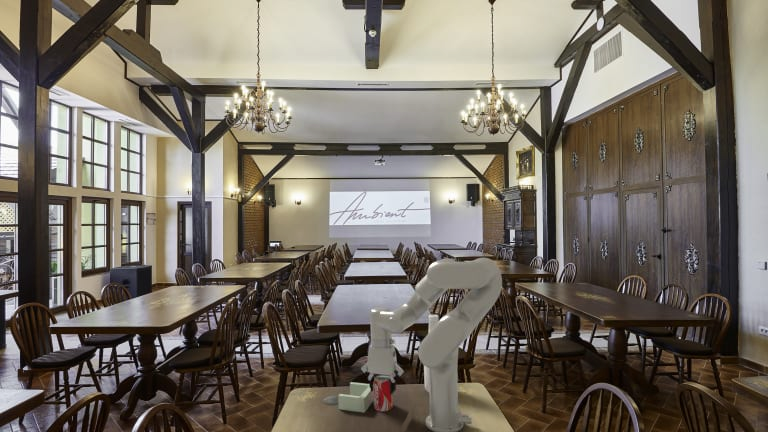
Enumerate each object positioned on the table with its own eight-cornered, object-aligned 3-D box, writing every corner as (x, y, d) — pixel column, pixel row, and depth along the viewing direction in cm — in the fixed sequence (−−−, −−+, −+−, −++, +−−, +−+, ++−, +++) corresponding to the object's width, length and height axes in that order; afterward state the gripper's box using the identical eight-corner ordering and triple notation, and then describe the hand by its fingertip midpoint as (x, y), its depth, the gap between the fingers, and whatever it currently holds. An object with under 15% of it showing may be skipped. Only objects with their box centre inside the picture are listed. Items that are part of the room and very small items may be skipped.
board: (367, 400, 158) (367, 396, 158) (355, 415, 146) (355, 411, 146) (329, 396, 163) (329, 392, 163) (315, 410, 151) (315, 406, 151)
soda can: (391, 416, 145) (390, 382, 145) (371, 414, 147) (370, 381, 147) (394, 406, 152) (393, 374, 152) (376, 405, 154) (374, 373, 153)
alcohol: (446, 385, 170) (444, 312, 169) (447, 394, 161) (445, 318, 161) (424, 385, 170) (422, 313, 170) (424, 394, 162) (422, 318, 162)
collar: (375, 397, 157) (375, 384, 157) (364, 412, 145) (364, 398, 145) (351, 395, 160) (351, 382, 160) (338, 409, 148) (338, 395, 148)
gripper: (407, 340, 150) (408, 389, 150) (362, 337, 156) (364, 384, 156) (401, 347, 143) (403, 398, 143) (355, 343, 148) (356, 392, 148)
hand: (382, 390), depth 149 cm, fingers closed on soda can, 7 cm apart
